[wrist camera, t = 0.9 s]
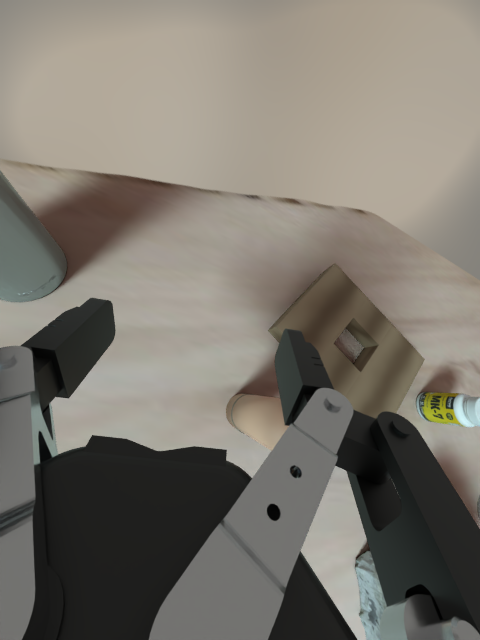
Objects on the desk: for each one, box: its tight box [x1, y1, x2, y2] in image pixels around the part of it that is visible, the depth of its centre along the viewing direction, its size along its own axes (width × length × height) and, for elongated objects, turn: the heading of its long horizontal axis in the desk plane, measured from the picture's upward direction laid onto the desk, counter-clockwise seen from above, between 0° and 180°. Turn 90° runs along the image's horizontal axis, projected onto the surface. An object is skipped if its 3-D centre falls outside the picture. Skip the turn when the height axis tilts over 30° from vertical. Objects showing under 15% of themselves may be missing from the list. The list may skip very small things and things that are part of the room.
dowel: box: [226, 394, 289, 451], centre depth 26 cm, size 5×5×14 cm
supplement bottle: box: [416, 392, 480, 427], centre depth 37 cm, size 5×5×8 cm
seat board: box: [268, 264, 425, 418], centre depth 38 cm, size 22×16×3 cm
